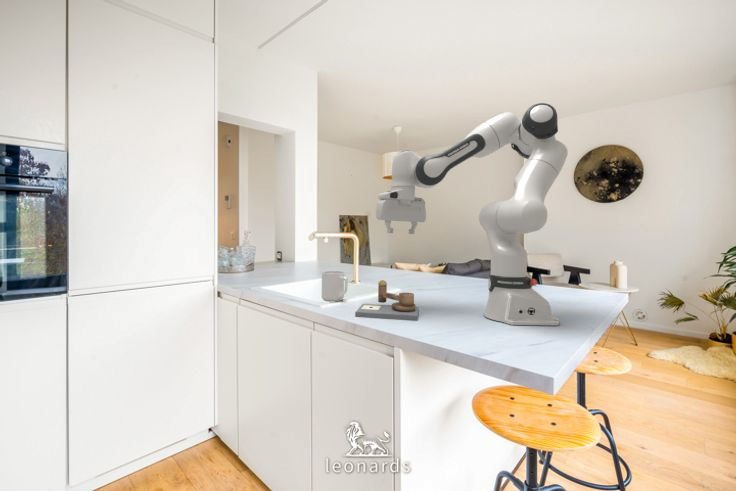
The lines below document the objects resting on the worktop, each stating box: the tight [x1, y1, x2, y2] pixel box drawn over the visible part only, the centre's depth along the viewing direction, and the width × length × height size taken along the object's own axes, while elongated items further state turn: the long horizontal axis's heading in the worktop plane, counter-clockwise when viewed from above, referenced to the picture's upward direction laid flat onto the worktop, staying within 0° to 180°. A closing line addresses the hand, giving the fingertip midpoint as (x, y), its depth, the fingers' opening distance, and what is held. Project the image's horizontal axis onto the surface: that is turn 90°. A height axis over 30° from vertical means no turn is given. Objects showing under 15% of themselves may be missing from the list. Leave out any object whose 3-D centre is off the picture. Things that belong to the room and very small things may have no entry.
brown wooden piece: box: [377, 279, 417, 311], centre depth 121 cm, size 16×8×8 cm, turn 40°
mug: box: [321, 270, 349, 303], centre depth 137 cm, size 12×9×11 cm
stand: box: [354, 303, 420, 321], centre depth 117 cm, size 20×13×2 cm, turn 80°
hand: (400, 233), depth 128 cm, fingers open, 8 cm apart
